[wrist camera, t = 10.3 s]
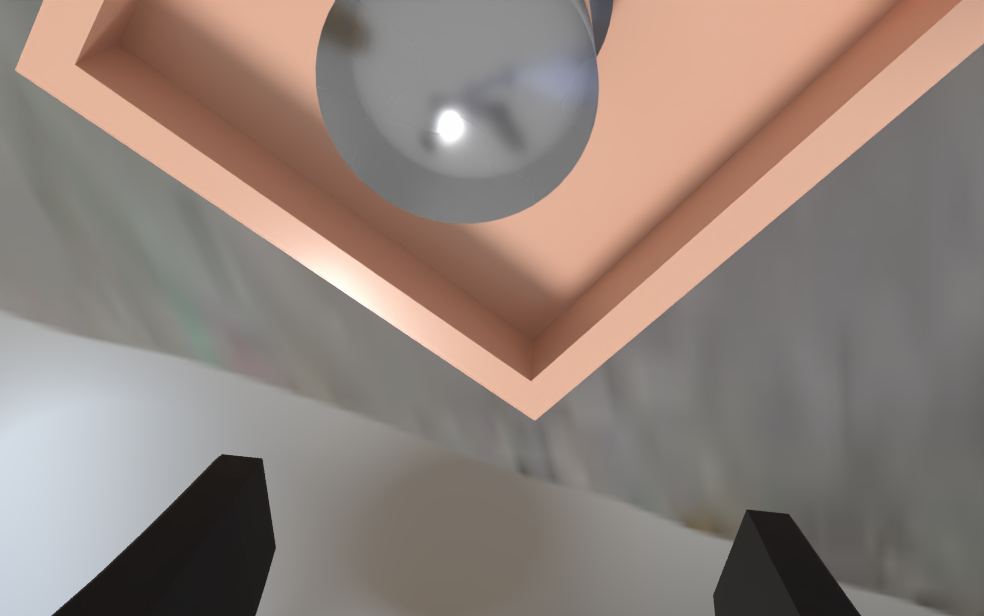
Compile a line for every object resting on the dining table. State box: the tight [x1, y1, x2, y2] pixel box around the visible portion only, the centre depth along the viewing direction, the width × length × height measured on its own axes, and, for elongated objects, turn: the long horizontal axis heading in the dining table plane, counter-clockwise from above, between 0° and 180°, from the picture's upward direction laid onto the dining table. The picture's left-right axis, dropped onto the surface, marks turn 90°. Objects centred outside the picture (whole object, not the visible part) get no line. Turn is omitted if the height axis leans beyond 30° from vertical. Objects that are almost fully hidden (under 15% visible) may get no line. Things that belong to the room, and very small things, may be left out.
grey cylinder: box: [315, 0, 613, 224], centre depth 12 cm, size 5×5×8 cm
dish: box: [15, 0, 984, 421], centre depth 15 cm, size 15×15×2 cm
